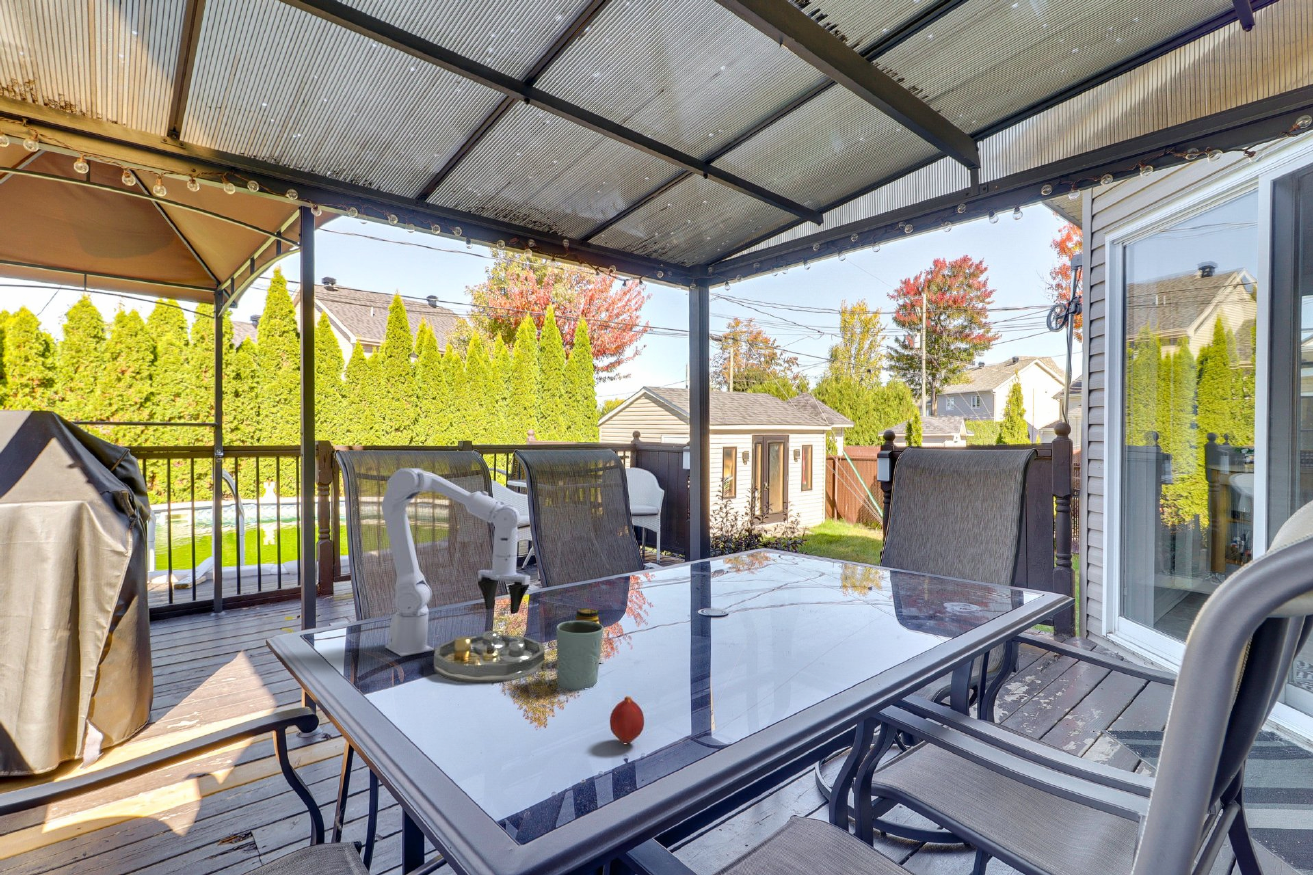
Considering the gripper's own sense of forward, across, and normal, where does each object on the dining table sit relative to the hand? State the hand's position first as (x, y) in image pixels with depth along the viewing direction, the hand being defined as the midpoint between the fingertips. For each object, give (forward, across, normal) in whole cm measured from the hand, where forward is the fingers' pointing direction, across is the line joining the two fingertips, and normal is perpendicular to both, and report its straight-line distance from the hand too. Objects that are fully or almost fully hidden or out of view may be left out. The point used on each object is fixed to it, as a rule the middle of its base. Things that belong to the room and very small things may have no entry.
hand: (501, 610), depth 153 cm
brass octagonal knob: (+8, +2, -16) cm, 18 cm away
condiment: (+10, +21, +5) cm, 23 cm away
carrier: (+10, +4, -9) cm, 14 cm away
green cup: (+10, +28, -8) cm, 31 cm away
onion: (+10, +50, -29) cm, 59 cm away
